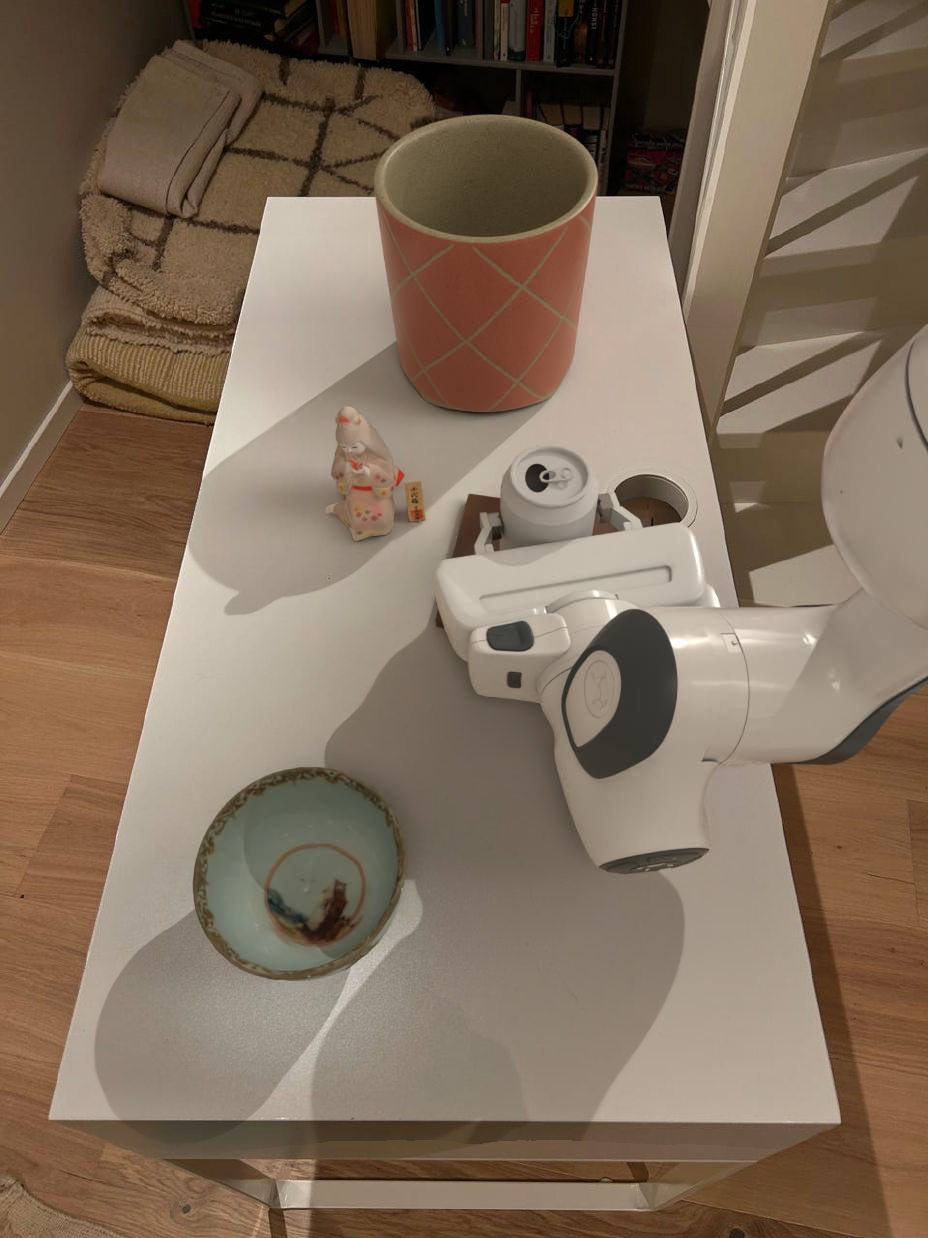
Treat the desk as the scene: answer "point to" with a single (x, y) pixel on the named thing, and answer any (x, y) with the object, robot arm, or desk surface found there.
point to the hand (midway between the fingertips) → (546, 507)
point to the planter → (486, 257)
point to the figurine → (368, 479)
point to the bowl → (300, 874)
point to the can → (547, 497)
